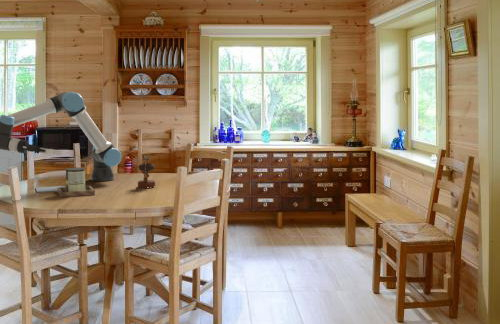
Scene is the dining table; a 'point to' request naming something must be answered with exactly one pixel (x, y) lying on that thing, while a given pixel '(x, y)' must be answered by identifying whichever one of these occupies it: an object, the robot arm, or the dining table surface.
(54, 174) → the dining table surface
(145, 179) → the bird automaton toy
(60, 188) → the square wooden tray
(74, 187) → the coffee can
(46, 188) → the slate mat
